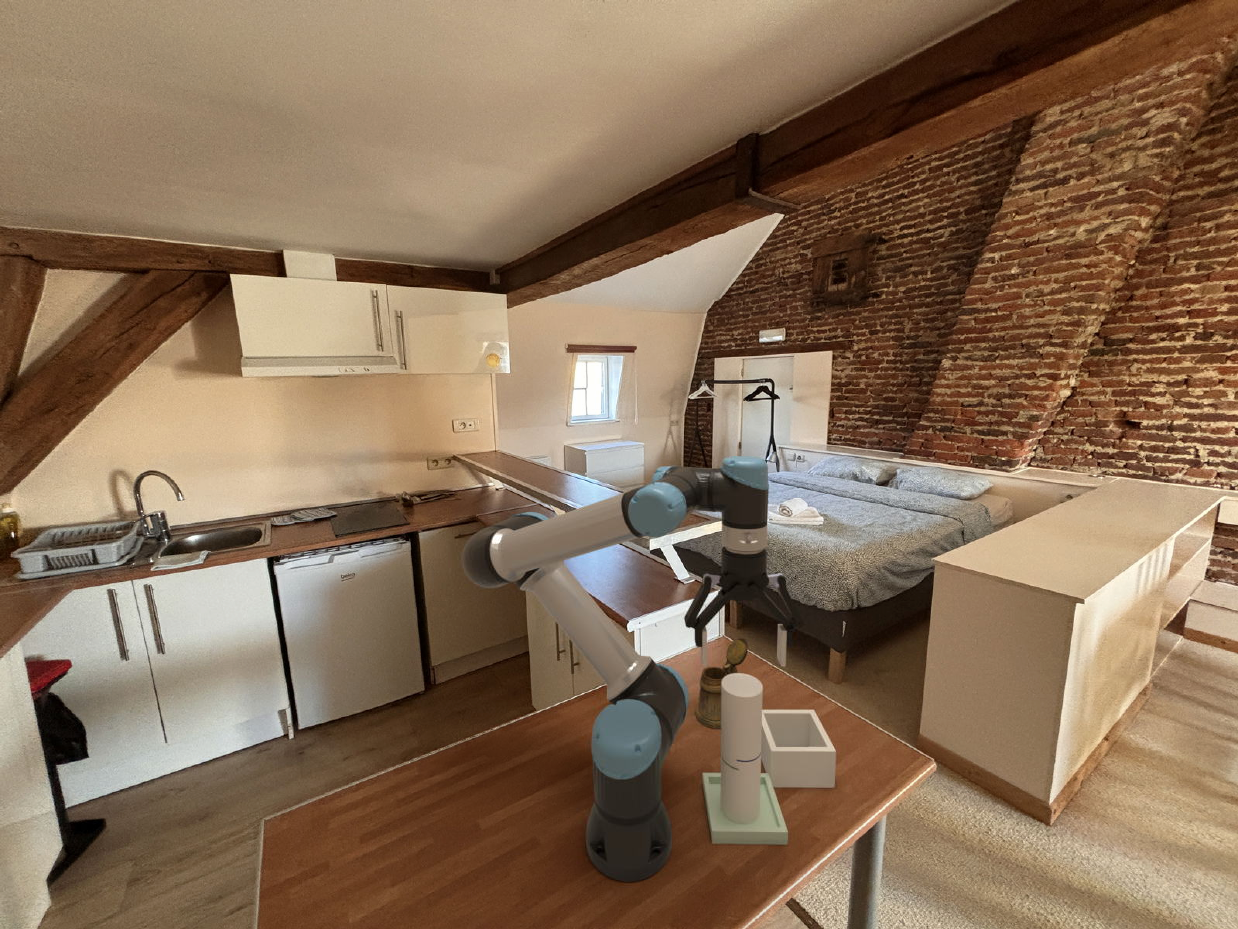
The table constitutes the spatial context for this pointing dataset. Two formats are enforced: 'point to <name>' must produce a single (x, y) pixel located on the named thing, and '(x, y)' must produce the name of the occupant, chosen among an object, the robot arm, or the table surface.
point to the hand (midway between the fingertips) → (742, 662)
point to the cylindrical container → (741, 747)
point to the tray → (759, 832)
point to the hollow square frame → (797, 749)
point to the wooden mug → (718, 684)
